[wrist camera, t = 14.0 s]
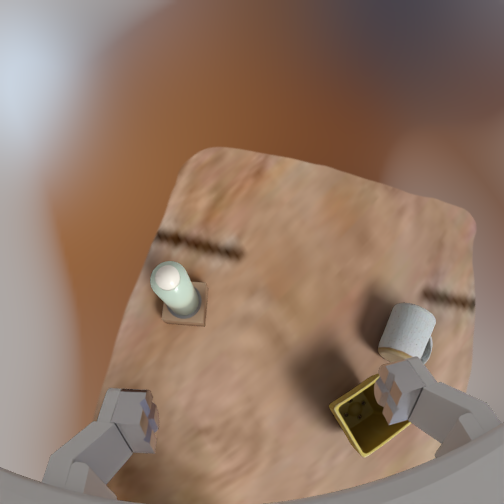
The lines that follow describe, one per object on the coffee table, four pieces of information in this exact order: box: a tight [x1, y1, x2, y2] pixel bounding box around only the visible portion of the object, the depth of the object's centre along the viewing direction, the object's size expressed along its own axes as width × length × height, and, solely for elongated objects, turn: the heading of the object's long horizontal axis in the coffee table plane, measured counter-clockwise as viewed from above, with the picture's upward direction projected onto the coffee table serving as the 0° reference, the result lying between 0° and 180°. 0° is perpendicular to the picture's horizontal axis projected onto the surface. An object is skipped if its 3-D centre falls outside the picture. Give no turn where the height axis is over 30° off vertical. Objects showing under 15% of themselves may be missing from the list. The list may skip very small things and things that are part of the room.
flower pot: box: [329, 374, 411, 457], centre depth 37 cm, size 9×9×9 cm
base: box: [162, 282, 208, 327], centre depth 45 cm, size 6×6×3 cm
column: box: [150, 261, 199, 316], centre depth 39 cm, size 4×4×11 cm
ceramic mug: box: [378, 303, 436, 364], centre depth 41 cm, size 11×8×8 cm
